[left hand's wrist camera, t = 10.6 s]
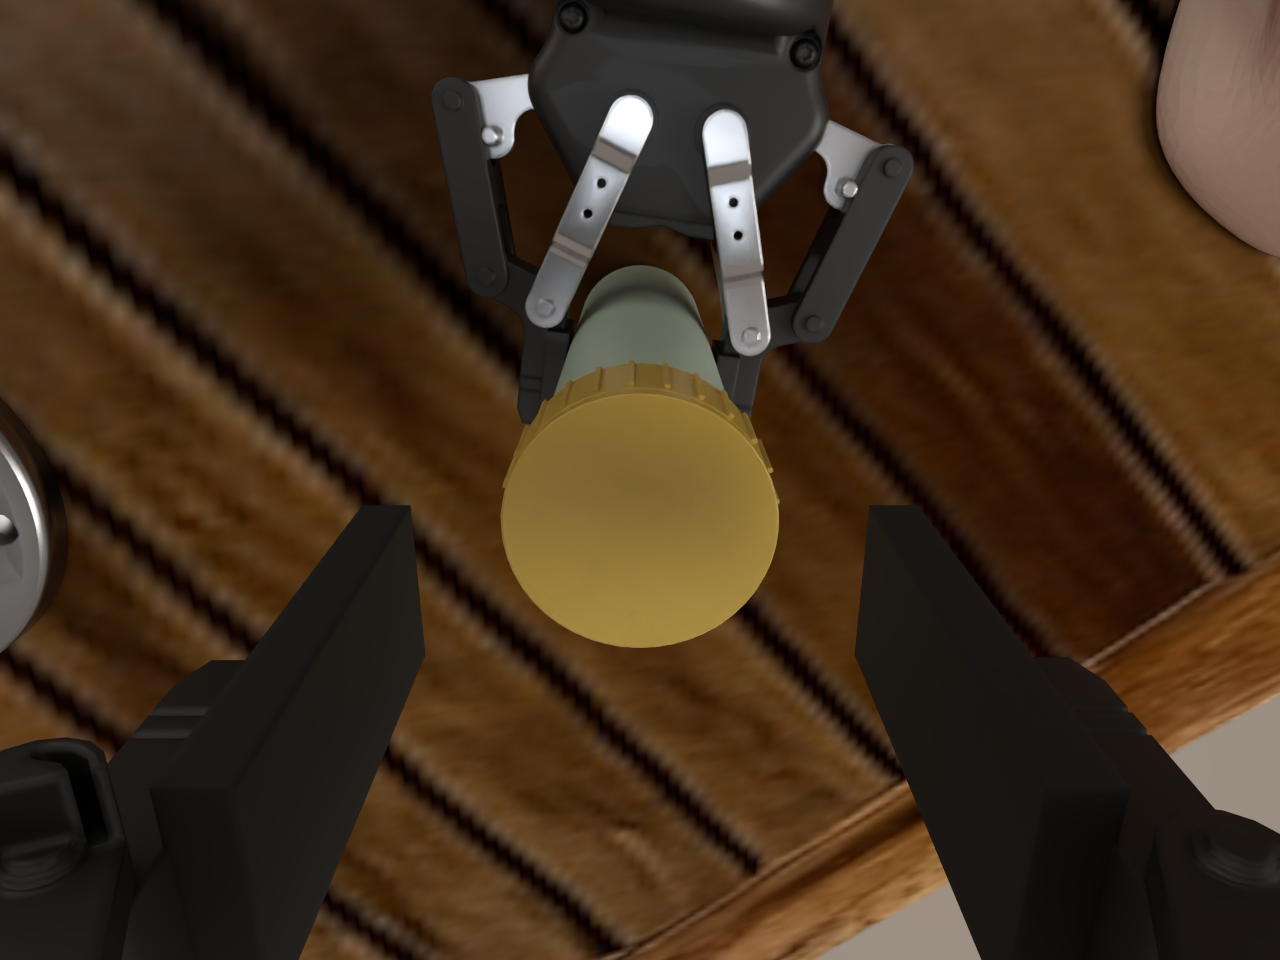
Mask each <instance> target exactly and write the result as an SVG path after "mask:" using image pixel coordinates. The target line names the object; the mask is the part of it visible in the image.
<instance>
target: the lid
mask: <svg viewBox="0 0 1280 960" xmlns="http://www.w3.org/2000/svg"><path fill="white" fill-rule="evenodd" d="M513 456H514V457H513V460H512V462H511V465H510V467H509V470H508V472H507V475H506V477H505V480H504V482H503V488H505V492H504V497H503V503H502V509H501V514H500V518H501V530H502V538H503V544H504V548H505V552H506V555H507V559H508V561H509V564H510V566H511V568H512V571H513V573H514V575H515V577H516V578H517V580H518V582H519V583H520V585H521V587H522V588H523V590H524V591H525V592H526V593H527V595H528V596H529V597H530V598H531V600H532V601H533V602H534V603H535V604H536V605H537V606H538V607H539V608H540V609H541V610H542V611H543V612H544V613H545V614H547V615H548V616H549V617H550V618H552V619H553V620H554V621H556V622H557V623H558V624H560V625H562V626H564V627H565V628H567V629H569V630H570V631H572V632H574V633H576V634H579V635H581V636H583V637H586V638H588V639H591V640H594V641H598V642H601V643H604V644H610V645H615V646H620V647H634V648H645V647H659V646H665V645H671V644H675V643H679V642H682V641H686V640H689V639H692V638H694V637H696V636H699V635H701V634H704V633H706V632H708V631H709V630H711V629H713V628H715V627H716V626H718V625H720V624H721V623H723V622H724V621H725V620H727V619H728V618H729V617H731V616H732V615H733V614H735V613H736V612H737V611H738V610H739V609H740V608H741V607H742V606H743V605H744V604H745V603H746V602H747V601H748V599H749V598H750V597H751V596H752V595H753V593H754V592H755V591H756V589H757V588H758V586H759V585H760V583H761V581H762V580H763V578H764V577H765V575H766V572H767V570H768V568H769V566H770V564H771V561H772V558H773V555H774V551H775V548H776V543H777V537H778V530H779V511H778V504H779V497H778V495H777V492H776V490H775V487H774V484H773V482H772V479H771V476H770V474H769V473H772V472H773V469H772V467H771V464H770V462H769V459H768V457H767V454H766V452H765V449H764V447H763V444H762V442H761V439H759V440H757V437H756V435H755V432H754V430H753V427H752V425H751V422H750V419H749V417H748V415H747V413H746V412H744V413H743V414H742V413H741V412H740V411H739V409H738V408H737V407H736V406H735V405H734V403H733V402H732V401H731V400H730V399H729V397H728V394H727V392H726V391H725V390H724V389H722V390H721V391H720V390H718V389H717V388H715V387H714V386H712V385H711V384H709V383H708V382H707V381H705V380H703V379H701V378H700V374H699V373H696V372H694V374H691V373H688V372H685V371H682V370H679V369H676V368H672V367H668V363H665V362H663V363H662V365H657V364H644V363H638V364H635V361H634V360H632V361H629V364H623V365H617V366H612V367H607V368H604V369H602V367H601V366H599V367H596V371H595V372H592V373H589V374H587V375H585V376H583V377H581V378H579V379H577V380H575V381H574V382H572V380H571V379H570V380H569V381H567V382H566V385H565V387H564V388H563V389H562V390H560V391H559V392H558V393H557V394H556V395H555V396H553V397H552V398H551V399H550V400H549V401H547V400H544V401H543V402H542V404H541V407H540V410H539V412H538V414H537V416H536V417H535V419H534V420H533V422H532V423H531V425H530V426H528V425H526V426H525V428H524V430H523V433H522V435H521V438H520V440H519V443H518V445H517V448H516V450H515V453H514V455H513Z"/></svg>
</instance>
